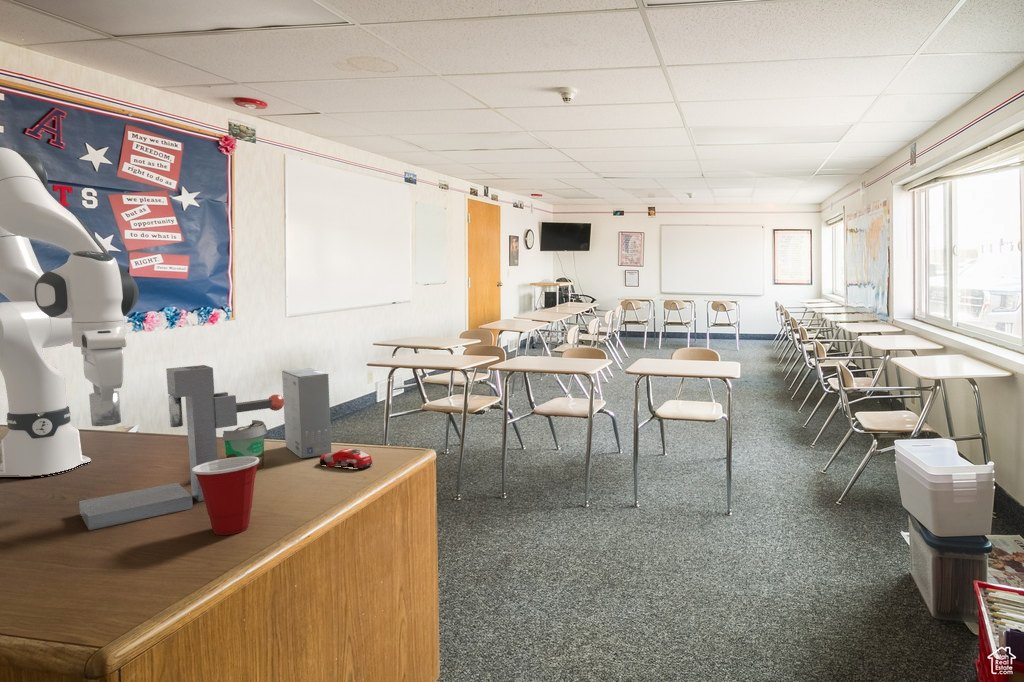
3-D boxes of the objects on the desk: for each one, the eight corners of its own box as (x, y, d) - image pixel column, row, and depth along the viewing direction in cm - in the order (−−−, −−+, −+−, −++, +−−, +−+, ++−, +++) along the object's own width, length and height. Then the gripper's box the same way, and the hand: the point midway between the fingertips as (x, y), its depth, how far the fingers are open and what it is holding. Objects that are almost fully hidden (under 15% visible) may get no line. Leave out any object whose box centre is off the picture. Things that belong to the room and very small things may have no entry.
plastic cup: (235, 514, 129) (232, 450, 128) (276, 524, 123) (272, 457, 122) (182, 534, 120) (177, 465, 118) (223, 545, 114) (219, 473, 113)
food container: (249, 477, 153) (247, 432, 152) (224, 475, 154) (221, 431, 153) (279, 461, 165) (277, 420, 164) (255, 460, 166) (253, 419, 165)
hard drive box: (332, 454, 170) (329, 373, 168) (301, 459, 166) (297, 376, 164) (314, 442, 183) (310, 367, 181) (284, 446, 179) (280, 369, 177)
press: (80, 514, 131) (68, 376, 128) (229, 484, 147) (221, 362, 145) (89, 530, 122) (77, 383, 120) (246, 497, 139) (238, 367, 136)
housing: (89, 423, 137) (86, 385, 136) (118, 419, 140) (115, 382, 139) (93, 427, 133) (90, 388, 132) (123, 423, 136) (120, 385, 136)
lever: (212, 417, 141) (211, 401, 141) (281, 408, 150) (280, 392, 150) (217, 420, 139) (216, 403, 138) (287, 410, 147) (286, 394, 147)
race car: (314, 467, 161) (313, 450, 161) (330, 461, 166) (329, 444, 166) (360, 473, 155) (359, 455, 155) (375, 466, 160) (374, 449, 160)
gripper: (72, 333, 141) (77, 401, 142) (88, 341, 125) (94, 417, 127) (108, 331, 145) (112, 397, 146) (128, 338, 129) (133, 412, 130)
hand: (104, 406), depth 136 cm, fingers closed on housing, 5 cm apart
